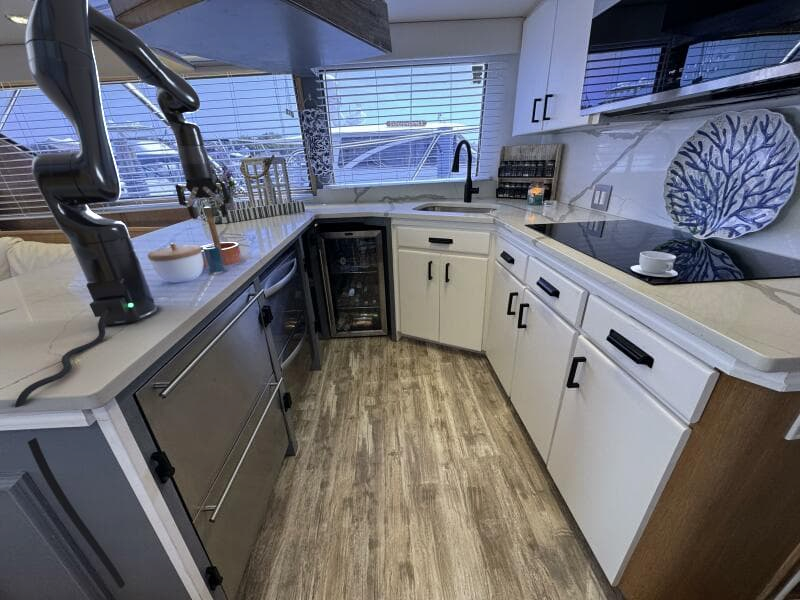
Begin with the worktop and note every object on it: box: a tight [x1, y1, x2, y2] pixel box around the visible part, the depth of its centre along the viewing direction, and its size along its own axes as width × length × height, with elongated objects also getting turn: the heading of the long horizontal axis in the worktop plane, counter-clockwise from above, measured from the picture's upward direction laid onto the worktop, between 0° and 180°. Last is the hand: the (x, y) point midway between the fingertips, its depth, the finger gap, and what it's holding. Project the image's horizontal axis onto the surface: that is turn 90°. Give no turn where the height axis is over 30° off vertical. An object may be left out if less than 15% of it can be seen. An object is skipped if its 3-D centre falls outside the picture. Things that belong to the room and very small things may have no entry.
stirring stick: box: [203, 206, 221, 250], centre depth 105 cm, size 2×2×18 cm
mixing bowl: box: [200, 241, 243, 268], centre depth 107 cm, size 12×12×6 cm
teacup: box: [630, 251, 679, 278], centre depth 83 cm, size 10×10×5 cm
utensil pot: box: [203, 245, 226, 273], centre depth 98 cm, size 4×4×8 cm
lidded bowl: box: [147, 242, 205, 284], centre depth 91 cm, size 13×13×11 cm
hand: (210, 217), depth 102 cm, fingers open, 8 cm apart
